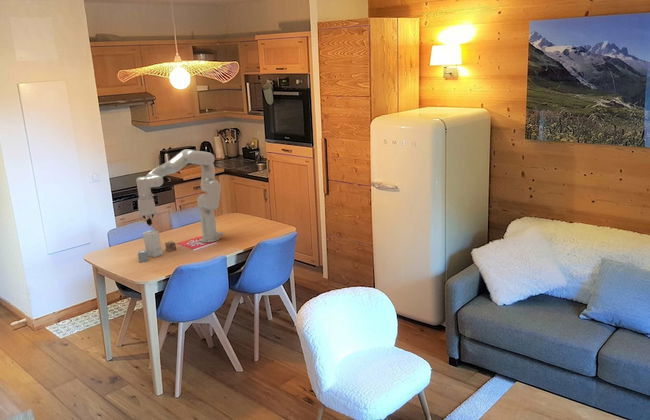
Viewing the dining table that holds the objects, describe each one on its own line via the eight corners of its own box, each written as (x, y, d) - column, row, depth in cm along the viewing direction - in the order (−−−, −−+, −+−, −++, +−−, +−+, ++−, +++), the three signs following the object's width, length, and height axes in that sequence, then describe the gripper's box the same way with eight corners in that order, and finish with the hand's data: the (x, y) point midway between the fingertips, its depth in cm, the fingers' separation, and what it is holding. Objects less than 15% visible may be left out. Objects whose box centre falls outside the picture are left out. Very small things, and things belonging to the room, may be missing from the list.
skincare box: (163, 254, 355) (159, 231, 351) (155, 257, 350) (151, 234, 346) (153, 252, 359) (150, 229, 355) (145, 256, 354) (142, 232, 350)
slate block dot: (148, 258, 348) (147, 249, 347) (147, 261, 344) (146, 252, 342) (140, 260, 348) (138, 250, 346) (139, 262, 343) (137, 253, 341)
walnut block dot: (173, 248, 366) (172, 240, 365) (176, 249, 362) (175, 242, 361) (166, 250, 363) (164, 242, 362) (168, 251, 359) (167, 244, 358)
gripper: (157, 193, 351) (161, 221, 355) (132, 197, 345) (136, 225, 350) (158, 196, 344) (162, 224, 348) (133, 199, 339) (137, 228, 343)
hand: (149, 225), depth 349 cm, fingers closed
